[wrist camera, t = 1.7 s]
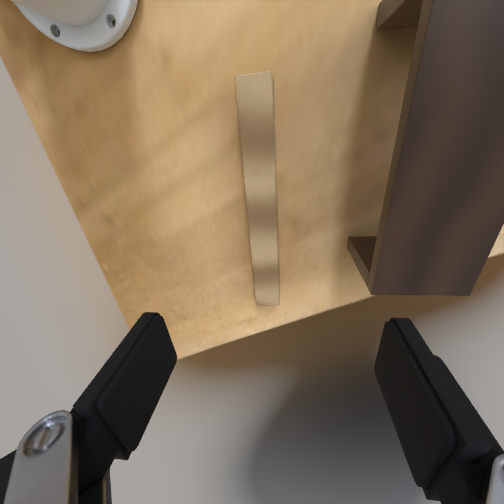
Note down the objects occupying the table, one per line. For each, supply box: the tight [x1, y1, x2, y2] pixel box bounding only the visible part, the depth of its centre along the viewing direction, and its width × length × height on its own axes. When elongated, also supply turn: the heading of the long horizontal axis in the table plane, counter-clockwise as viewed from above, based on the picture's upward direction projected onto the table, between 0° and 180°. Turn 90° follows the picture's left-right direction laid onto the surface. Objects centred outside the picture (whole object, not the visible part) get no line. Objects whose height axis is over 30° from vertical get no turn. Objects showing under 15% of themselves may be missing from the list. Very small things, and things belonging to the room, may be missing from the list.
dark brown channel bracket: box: [347, 0, 504, 296], centre depth 19 cm, size 8×22×9 cm, turn 5°
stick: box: [234, 71, 280, 305], centre depth 26 cm, size 24×3×4 cm, turn 5°
